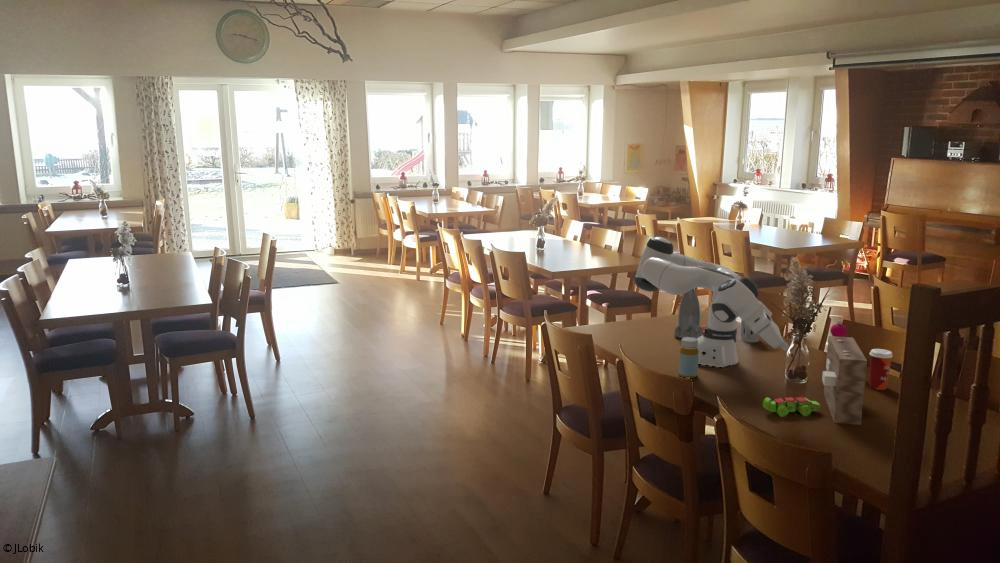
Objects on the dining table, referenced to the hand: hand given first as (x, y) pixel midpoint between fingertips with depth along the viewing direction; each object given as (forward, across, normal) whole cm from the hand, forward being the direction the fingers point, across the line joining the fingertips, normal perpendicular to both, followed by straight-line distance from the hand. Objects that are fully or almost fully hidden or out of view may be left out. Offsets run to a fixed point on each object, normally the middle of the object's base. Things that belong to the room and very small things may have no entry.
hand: (786, 348), depth 246 cm
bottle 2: (-7, -27, -39) cm, 48 cm away
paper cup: (+41, -31, +10) cm, 52 cm away
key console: (+30, -6, -1) cm, 30 cm away
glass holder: (+10, -80, -21) cm, 83 cm away
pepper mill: (+32, -49, +2) cm, 59 cm away
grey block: (+20, -13, +6) cm, 25 cm away
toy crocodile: (+18, +2, -14) cm, 23 cm away
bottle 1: (-8, -80, -39) cm, 90 cm away
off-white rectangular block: (+18, +1, +3) cm, 19 cm away
